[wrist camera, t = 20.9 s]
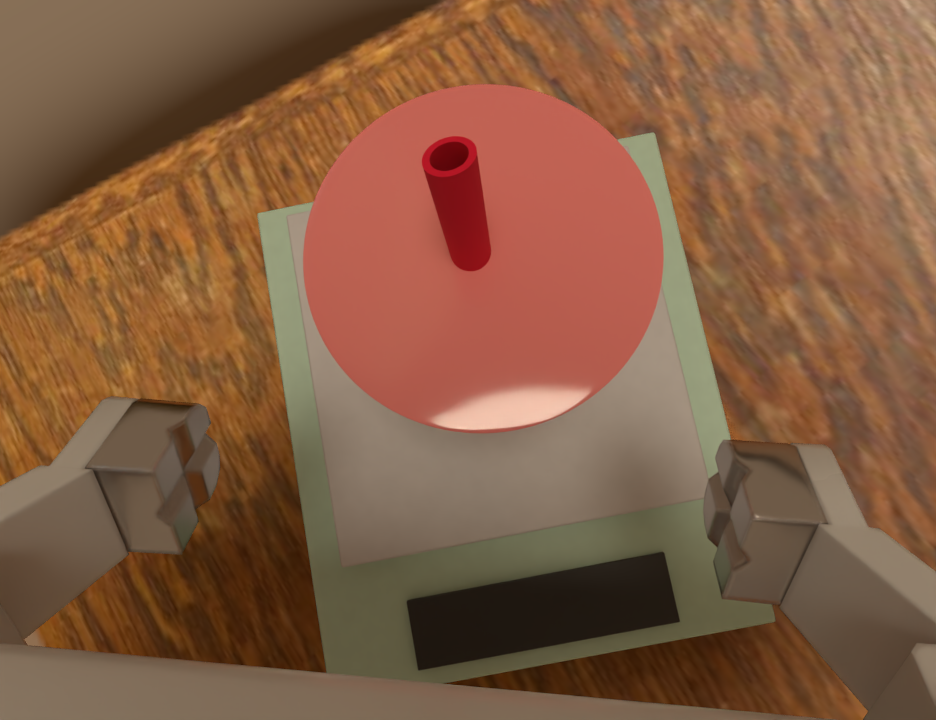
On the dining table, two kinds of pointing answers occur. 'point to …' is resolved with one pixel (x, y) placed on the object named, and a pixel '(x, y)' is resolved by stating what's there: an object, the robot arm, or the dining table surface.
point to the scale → (507, 499)
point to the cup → (483, 258)
